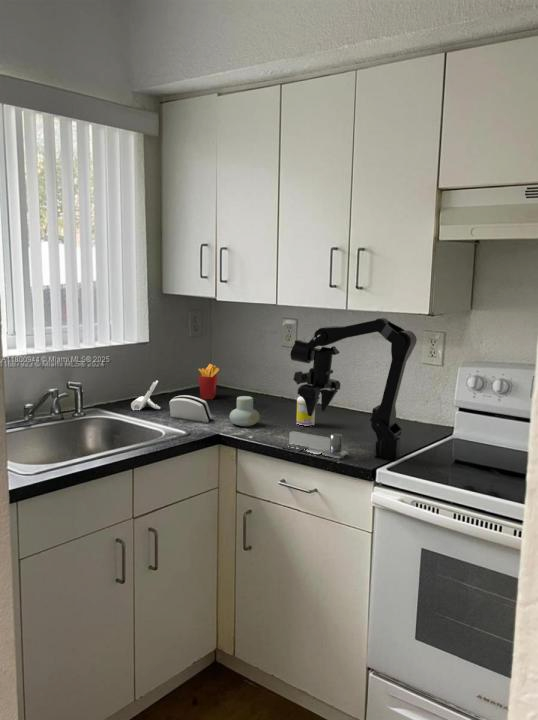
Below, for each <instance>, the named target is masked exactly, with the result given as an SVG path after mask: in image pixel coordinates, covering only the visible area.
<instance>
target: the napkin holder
mask: <svg viewBox="0 0 538 720" xmlns="http://www.w3.org/2000/svg"><path fill="white" fill-rule="evenodd" d="M168 404H169V412H170V413H169V414H170V417H171V418H177V419H183V420H190V421H194V420H195V421H196V422H200V421H202V423H206V422H207V423H209V422H210V419H211V421H214V420H215V418H214V415H212V413H211V411H210V408H209V405H208V403H207V401H206V400H205V399H201V397H200V398H199V397H196V396H192V395H185V394H183V395H178V396H174V397H172V399H170V401H169V403H168Z"/></svg>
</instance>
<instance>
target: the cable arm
mask: <svg viewBox="0 0 538 720" xmlns="http://www.w3.org/2000/svg"><path fill="white" fill-rule="evenodd" d="M329 435H330V436H329V437H326V436H322V435H316V434H310V433H306V432H305V433H304V432H299V431H295V430H292V431H289V436H288V437H289V438H288V440H289V441H288V444H295V445H300V446H305V447H307V448H309V447H311V448H316V449H321V450H326V451H330V452H334V453H339V452H341V451H343V450H342V448H343V447H342V446H343V434H341V433H331V434H329Z"/></svg>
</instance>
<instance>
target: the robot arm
mask: <svg viewBox="0 0 538 720" xmlns="http://www.w3.org/2000/svg"><path fill="white" fill-rule="evenodd" d="M373 333H379V334H380V335H381V336H382V337H383V338H384V339H385V340H386V341H388V342H389V343H391V348H390V353H391V363H390V367H389V370H388V374H387V379H386V382H385V387H384V390H383V394H382V398H381V399H382V400H381V402H380V404H379V405H376V406H375V407H373V408H372V412H371V414H372V415H371V418H370V419H369V422H370V427H371V429H372V430H373V432H374V433H375V437H376V440H377V441H375V452H374V453H375V455H374V458H375V459H379V458H380V460H387V461H391V462H395V461H397V460H398V459H399V458H401V457H402V454H401V452H400V451H401V438H400V436H401V435H402V432H403V429H402V428H401V426H400V425H399V424H398V423H397V421H396V419H397V409H396V407H397V406H396V403H397V400H398V396H399V392H400V388H401V385H402V381H403V377H404V372H405V369H406V363H407V362H408V360H409V358H410V357H411V354H412V352H413V351H414V349H415V346H416V343H417V341H418V340H417V336H416V334H415V333H414V332H413V331H411V330H407V329H406V330H405V329H404V328H402V327H401V326H398V325H397V324H395V323H393V322H391V321H390V320H388V319H387V318H385V317H380V318H376V319H375V320H369V321H366V322H359V323H355V324H351V325H345V326H341V325H340V326H337V325H334V326H333V325H332V326H331V325H329V326H323V327H319V328H317V329H316V330H315V332H314V334H313V337H312V338H311V339H310V340H309V342H308V341H303V340H300V339H297V340H294V344H292V345H293V346H292V349H291V350H290V360H292V362H293V361H294V362H297V363H298V362H299V363H302V364H303V363H304V364H311V362H313V365H312V367H311V368H310V369H309V370H308V372H302V371H301V370H300V371H295V372H294V375H293V378H292V379H293V381H294V382H295V383H296V385H297V386H298V385H300V386H298V387H297V393H296V394H297V395H299V397H300V396H301V397H303V399H304V400H305V403H306V408H307V413H308V416H312V414H313V412H314V410H315V411H316V407H317V405H318V404H319V403H318V402H319V400H320V399H321V400H320V401H321V402H320V404H321V405H320V406H321V407H320V408H321V411H322V412H325V411H326V410H327V409H328V407H329V406H330V404H331V402H332V400H333V399H334V397H335V396H336V395H337V393H338V391H339V390H340V389H341V383H340V381H339V380H337V379H332V378H331V374H333V373H334V370H333V369H332V364H333V363H332V362H333V357H334V356H336V355H340V351H339V349H337V347H336V345H334V346H331V347H327V346H329V345H333V344H336V343H338V342H341V341H342V340H345V339H348V338H353V337H357V336H362V335H367V334H373ZM319 347H321V348H319ZM304 383H305V384H304ZM320 394H321V397H320Z"/></svg>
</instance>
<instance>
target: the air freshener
mask: <svg viewBox="0 0 538 720" xmlns="http://www.w3.org/2000/svg"><path fill="white" fill-rule="evenodd" d="M229 420H230V421H231V423H233V424H234V425H236V426H238V425H239V427H252V426H254V425H256V424H257V423H258V422H259V420H260V413H259V412H258V411H257V410H256V409H254V398H253V397H251V396H250V395H249V396H248V395H247V396H246V395H242V396H241V395H240V396H237V398H236V408H235V409H233V410H231V411H230V413H229ZM251 425H252V426H251Z"/></svg>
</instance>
